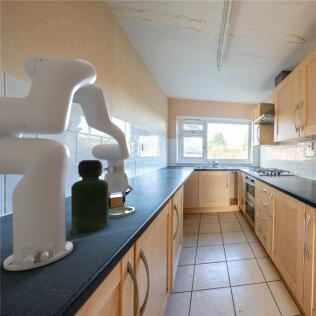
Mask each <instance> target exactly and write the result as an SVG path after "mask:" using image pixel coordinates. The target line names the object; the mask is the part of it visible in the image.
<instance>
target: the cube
mask: <svg viewBox="0 0 316 316" xmlns="http://www.w3.org/2000/svg"><path fill="white" fill-rule="evenodd" d="M110 199H111V207H110V209H113V208H118V207H124V205H123V196H122V193H121V194H113V195H112V194H111V195H110Z"/></svg>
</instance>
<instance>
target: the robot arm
mask: <svg viewBox="0 0 316 316" xmlns="http://www.w3.org/2000/svg"><path fill="white" fill-rule="evenodd" d="M23 67H24V71H25V72H26V74H27V76H28V78H29V79H31V84H30V87H29V90H28V93H27V95H26V96H24V97H13V96H12V97H10V96H2V97H1V96H0V175H19V176H20V175H21V176H22V178H20V180H19V182H17V183H16V185H15V186H14V189H13V190H12V194H11V204H12V205H11V206H12V208H11V209H12V254H11V255H9V256H7V257H6V258H5V260H3V264H2V268H3V270H6V271H9V272H10V271H12V272H14V271H15V272H18V271H25V270H33V269H35V268H40V267H43V266H46V265H49V264H52V263H54V262H57V261H58V260H60V259H63V258H64V257H66V256H68V255H69V254H71V252H72V251H73V249H74V244H73V242H71V241H69V240H67V235H66V234H67V231H66V229H67V227H66V225H67V224H66V223H67V222H66V217H67V215H66V182H67V181H66V179H67V173H68V168H69V163H70V159H71V153H70V149H69V147H68V146H67V145H66V144H64V143H63V142H62V141H59V140H56V139H52V138H45V137H22V136H23V135H37V136H40V135H41V136H53V135H54V136H55V135H60V134H63V133H64V132H65V131H66V130H67V128H68V125H69V122H70V116H71V110H72V105H80V107H81V110H82V113H83V116H84V119H85V121H86V125H87V126H88V127H90V128H92V129H94V130H95V131H96V130H97V131H99V132H101V133H102V134H106V135H108V136H109V137H111V138H112V139H114V140H115V141H116V142H117V143H96V144H95V145H93V147H92V148H91V154H92V157H93V158H95V160H99V161H106V166H103V168H102V171H106V172H104V178H103V180H105V181H106V182H107V183H108V208H111V199H110V196H111V195H112V194H115V193H121V195H122V196H123V206H125V203H126V197H127V196H128V195H129V194H130V193H131V192H132V191H133V190H134V188H133V187H132V186H131V185H130V184H129V176H128V172H127V171H126V160H127V159H129V158H130V156H131V148H130V143H129V139H128V136H127V135H126V133H125V132H124V130H122V129H121V128H120V126H118V125H117V124H116V123H115V122H113V120H112V116H111V113H110V109H109V105H108V101H107V98H106V97H107V96H106V93H105V90H104V89H103V87H102V86H101V85H99V84H98V83H95V81H96V80H97V76H98V75H97V70H96V67H95V66H94V65H93V64H92V63H90V62H89V61H88V60H85V59H82V58H77V57H76V58H75V57H71V58H65V57H55V56H45V55H31V56H28V57H27V58H26V59H25V60H24V64H23Z"/></svg>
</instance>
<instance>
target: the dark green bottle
mask: <svg viewBox="0 0 316 316" xmlns="http://www.w3.org/2000/svg"><path fill="white" fill-rule="evenodd" d="M103 167H104V166H103V163H102V161H101V160H99V159H81V160H80V161H79V163H78V165H77V174H78V177H79V178H81V179H80V180H77V181H75V182H74V183H73V184H72V185H71V187H70V191H71V193H70V197H71V198H70V200H71V203H70V205H71V208H70V209H71V212H70V213H71V233H73V234H78V235H80V234H81V235H83V234H90V233H94V232H98V231H101V230H103V229H105V228H107V227H108V226H109V217H108V210H109V206H108V183H107V182H106V181H105V180H104V179H101V178H100V177H101V176H102V174H103Z"/></svg>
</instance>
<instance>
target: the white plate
mask: <svg viewBox="0 0 316 316" xmlns="http://www.w3.org/2000/svg"><path fill="white" fill-rule="evenodd" d="M134 212H135V207H133V206H120V207H113V208H110V209H108V218H119V217H125V216H128V215H132V214H133V213H134Z"/></svg>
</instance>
